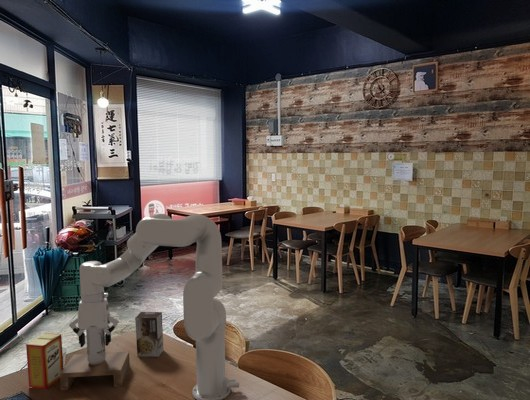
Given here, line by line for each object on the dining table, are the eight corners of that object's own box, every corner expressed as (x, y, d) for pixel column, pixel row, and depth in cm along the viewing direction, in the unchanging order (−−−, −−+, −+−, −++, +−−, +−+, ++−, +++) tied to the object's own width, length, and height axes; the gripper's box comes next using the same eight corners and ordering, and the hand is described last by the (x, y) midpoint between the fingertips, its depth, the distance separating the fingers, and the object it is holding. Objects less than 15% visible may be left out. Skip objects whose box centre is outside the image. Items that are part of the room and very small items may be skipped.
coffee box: (164, 349, 176) (162, 311, 175) (158, 357, 170) (157, 317, 168) (142, 349, 177) (140, 311, 176) (136, 356, 171) (134, 317, 169)
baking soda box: (45, 389, 147) (42, 344, 145) (29, 387, 148) (25, 343, 147) (63, 375, 156) (61, 333, 155) (47, 374, 158) (45, 332, 156)
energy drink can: (102, 365, 151) (100, 323, 150) (84, 365, 151) (83, 323, 150) (108, 357, 157) (106, 317, 156) (91, 358, 157) (89, 317, 156)
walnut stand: (129, 366, 163) (129, 351, 162) (121, 386, 149) (120, 369, 148) (74, 369, 161) (73, 354, 160) (60, 390, 147) (59, 373, 146)
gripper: (120, 292, 156) (122, 339, 158) (70, 294, 154) (73, 341, 156) (115, 299, 149) (118, 348, 150) (63, 301, 147) (66, 350, 149)
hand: (95, 344), depth 153 cm, fingers open, 8 cm apart
